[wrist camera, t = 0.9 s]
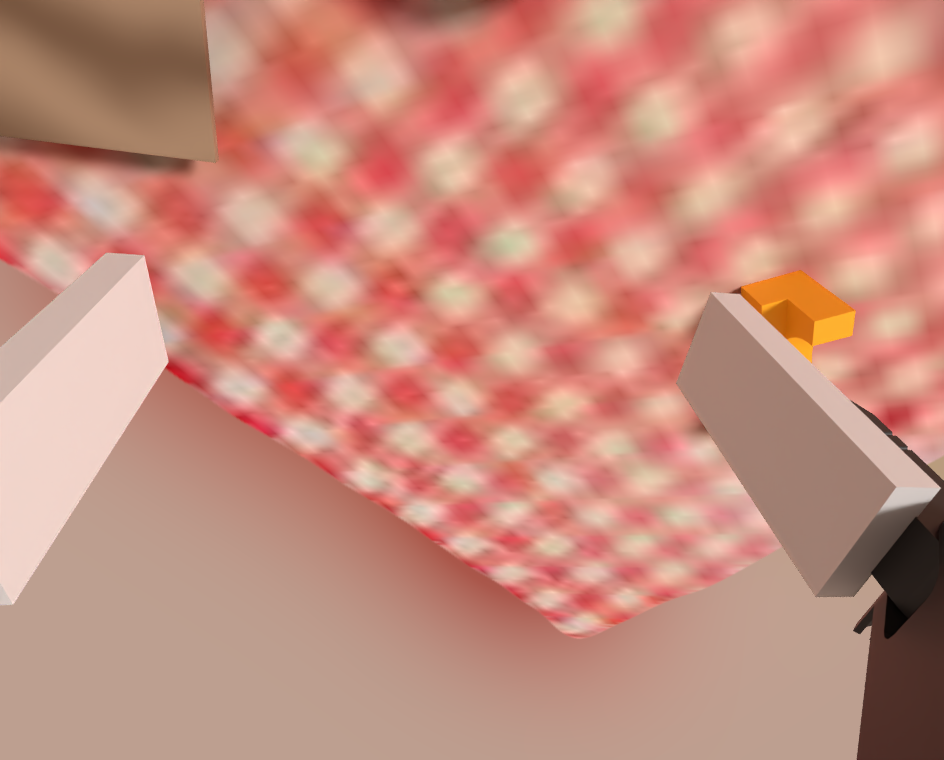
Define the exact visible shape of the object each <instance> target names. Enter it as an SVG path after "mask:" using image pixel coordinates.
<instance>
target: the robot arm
mask: <svg viewBox="0 0 944 760" xmlns="http://www.w3.org/2000/svg"><path fill="white" fill-rule="evenodd" d="M167 363H168V357H167V353H166V349H165V344H164V340H163V335H162V331H161V327H160V322H159V318H158V314H157V309H156V305H155V300H154V296H153V292H152V287H151V283H150V279H149V274H148V270H147V265H146V261H145V257H144V255H132V254H117V253H105V254H104V255H103V256H102V257H101V258H100V259H99V260H98V261H96V262H95V263H94V264H93V265H92V266H91V267H90V268H89V269H88V270H86V271H85V272H84V273H83V274H82V275H81V276H80V277H79V278H77V279H76V280H75V281H74V282H73V283H72V284H71V285H70V286H68V287H67V288H66V289H65V290H64V291H63V292H62V293H61V294H59V295H58V296H57V297H56V298H55V299H54V300H53V301H52V302H51V303H49V304H48V305H47V306H46V307H45V308H44V309H43V310H41V311H40V312H39V313H38V314H37V315H36V316H35V317H34V318H33V319H31V320H30V321H29V322H28V323H27V324H26V325H25V326H23V327H22V328H21V329H20V330H19V331H18V332H17V333H16V334H14V335H13V336H12V337H11V338H10V339H9V340H8V341H7V342H6V343H5V344H3V345H2V346H1V347H0V605H13V604H14V602H15V601H16V599H17V598H18V596H19V594H20V593H21V591H22V590H23V588H24V587H25V585H26V584H27V582H28V580H29V579H30V577H31V576H32V574H33V573H34V571H35V570H36V568H37V566H38V565H39V563H40V562H41V560H42V559H43V557H44V555H45V554H46V552H47V551H48V549H49V548H50V546H51V544H52V543H53V541H54V540H55V538H56V537H57V535H58V534H59V532H60V531H61V529H62V527H63V526H64V524H65V523H66V521H67V520H68V518H69V516H70V515H71V513H72V512H73V510H74V509H75V507H76V505H77V504H78V502H79V501H80V499H81V498H82V496H83V495H84V493H85V491H86V490H87V488H88V487H89V485H90V484H91V482H92V480H93V479H94V477H95V476H96V474H97V473H98V471H99V470H100V468H101V466H102V465H103V463H104V462H105V460H106V459H107V457H108V456H109V454H110V452H111V451H112V449H113V448H114V446H115V445H116V443H117V441H118V440H119V438H120V437H121V435H122V433H123V432H124V431H125V429H126V427H127V426H128V424H129V423H130V421H131V420H132V418H133V416H134V415H135V413H136V412H137V410H138V409H139V407H140V406H141V404H142V402H143V401H144V399H145V398H146V396H147V394H148V393H149V391H150V390H151V388H152V387H153V385H154V384H155V382H156V380H157V379H158V377H159V376H160V374H161V373H162V371H163V370H164V368H165V366H166V365H167ZM676 384H677V385H678V387H679V388H680V390H681V391H682V393H683V395H684V396H685V398H686V399H687V401H688V402H689V404H690V405H691V407H692V408H693V410H694V411H695V413H696V414H697V416H698V418H699V419H700V421H701V422H702V424H703V425H704V427H705V428H706V430H707V431H708V433H709V434H710V436H711V437H712V439H713V441H714V442H715V444H716V445H717V447H718V448H719V450H720V451H721V453H722V454H723V456H724V457H725V459H726V460H727V462H728V464H729V465H730V467H731V468H732V470H733V471H734V473H735V474H736V476H737V477H738V479H739V480H740V482H741V484H742V485H743V487H744V488H745V490H746V491H747V493H748V494H749V496H750V497H751V499H752V500H753V502H754V503H755V505H756V507H757V508H758V510H759V511H760V513H761V514H762V516H763V517H764V519H765V520H766V522H767V523H768V525H769V526H770V528H771V530H772V531H773V533H774V534H775V536H776V537H777V539H778V540H779V542H780V543H781V545H782V546H783V548H784V549H785V551H786V553H787V554H788V556H789V557H790V559H791V560H792V562H793V563H794V565H795V566H796V568H797V569H798V571H799V572H800V574H801V575H802V577H803V579H804V580H805V582H806V583H807V585H808V586H809V588H810V589H811V590H812V592H813V594H814V595H815V597H852V596H853V597H854V596H855V595H856V593H857V592H858V591H859V590H860V588H861V587H862V586H863V585H864V583H865V582H866V581H867V580H868V578H869V577H870V576H871V575H873V576H874V578H875V579H876V580H877V581H878V583H879V584H880V585H881V587H882V588H883V589H884V592H883V593H882V594H881V595H880V597H879V598H878V599H877V600H876V601H875V602H874V604H873V605H872V606H871V607H870V608H869V609H868V611H867V612H866V613H865V614H864V615H863V617H862V618H861V619H860V620H859V621H858V623H857V624H856V626H855V628H854V630H853V631H855V632H857V633H858V634H860V633H861V632H862V631H863V630H864V629H865V628H866V627H867V626H872V629H871V638H870V647H869V655H868V665H867V673H866V682H865V692H864V700H863V709H862V717H861V726H860V735H859V744H858V753H857V760H944V480H942V479H941V478H940V477H939V476H938V475H937V474H936V473H935V472H934V471H933V470H932V469H931V468H930V467H929V466H928V465H927V464H926V463H924V462H923V461H922V460H921V459H920V458H919V457H918V456H917V455H916V454H915V453H914V452H913V451H912V450H907V447H908V446H906V445H905V444H904V443H903V442H902V441H901V440H900V439H899V438H898V437H897V436H893V435H892V431H891V430H890V429H888V428H887V427H886V426H885V425H884V424H883V423H882V422H881V421H880V420H879V419H878V418H877V417H876V416H875V415H873V414H872V413H870V412H869V411H867V410H865V409H864V408H862V407H861V406H859V405H857V404H856V403H854V402H853V401H851V400H849V399H848V398H847V397H846V396H845V395H844V394H843V393H842V392H841V391H840V390H839V389H838V388H837V387H836V386H835V385H834V384H832V383H831V382H830V381H829V380H828V379H827V378H826V377H825V376H824V375H823V374H822V373H821V372H820V371H819V370H818V369H817V368H816V367H815V366H814V365H813V364H812V363H811V362H810V361H809V360H808V359H807V358H805V357H804V356H803V355H802V354H801V353H800V352H799V351H798V350H797V349H796V348H795V347H794V346H793V345H792V344H791V343H790V342H789V341H788V340H787V339H786V338H785V337H784V336H783V335H782V334H781V333H780V332H778V331H777V330H776V329H775V328H774V327H773V326H772V325H771V324H770V323H769V322H768V321H767V320H766V319H765V318H764V317H763V316H762V315H761V314H760V313H759V312H758V311H757V310H756V309H755V308H754V307H753V306H751V305H750V304H749V303H748V302H747V301H746V300H745V299H744V298H743V297H742V296H741V295H740V294H731V293H716V292H711V293H710V295H709V298H708V301H707V303H706V306H705V309H704V311H703V314H702V317H701V319H700V322H699V324H698V327H697V330H696V332H695V335H694V338H693V340H692V343H691V346H690V348H689V351H688V353H687V356H686V359H685V361H684V364H683V367H682V369H681V372H680V375H679V377H678V380H677V382H676Z"/></svg>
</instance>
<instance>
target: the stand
mask: <svg viewBox="0 0 944 760" xmlns="http://www.w3.org/2000/svg"><path fill="white" fill-rule="evenodd" d="M0 136H5V137H13V138H21V139H29V140H37V141H45V142H53V143H61V144H69V145H77V146H85V147H93V148H101V149H109V150H117V151H125V152H133V153H141V154H149V155H157V156H165V157H173V158H181V159H189V160H197V161H205V162H213V163H216V162H217V161H218V160H219V158H218V148H217V137H216V127H215V116H214V106H213V95H212V85H211V74H210V63H209V53H208V42H207V32H206V21H205V11H204V0H0Z"/></svg>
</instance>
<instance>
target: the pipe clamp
mask: <svg viewBox="0 0 944 760" xmlns="http://www.w3.org/2000/svg"><path fill="white" fill-rule="evenodd" d="M741 296H742V297H743V298H744V299H745V300H746V301H747V302H748V303H749V304H750V305H751V306H753V307H754V308H755V309H756V310H757V311H758V312H759V313H760V314H761V315H762V316H763V317H764V318H765V319H766V320H767V321H768V322H769V323H770V324H771V325H772V326H773V327H774V328H775V329H776V330H777V331H778V332H780V333H781V334H782V335H783V336H784V337H785V338H786V339H787V340H788V341H789V342H790V343H791V344H792V345H793V346H794V347H795V348H796V349H797V350H798V351H799V352H800V353H801V354H802V355H803V356H804V357H805V358H807V359H808V360H809V361H810V362H811V363H812V349H813V346H815V345H819V344H822V343H826V342H830V341H834V340H838V339H841V338H845V337H849V336H852V333H853V326H854V319H855V311H856V310H854V309H853V308H851V307H850V306H849V305H847V304H846V303H845V302H843V301H842V300H841V299H839V298H838V297H837V296H835V295H834V294H833V293H831V292H830V291H828V290H827V289H826V288H824V287H823V286H822V285H820V284H819V283H818V282H816V281H815V280H814V279H812V278H811V277H809V276H808V275H807V274H805V273H804V272H803V271H801V270H799V271H796V272H792V273H788V274H785V275H781V276H778V277H774V278H770V279H767V280H763V281H760V282H756V283H752V284H749V285H745V286H742V287H741Z"/></svg>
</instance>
